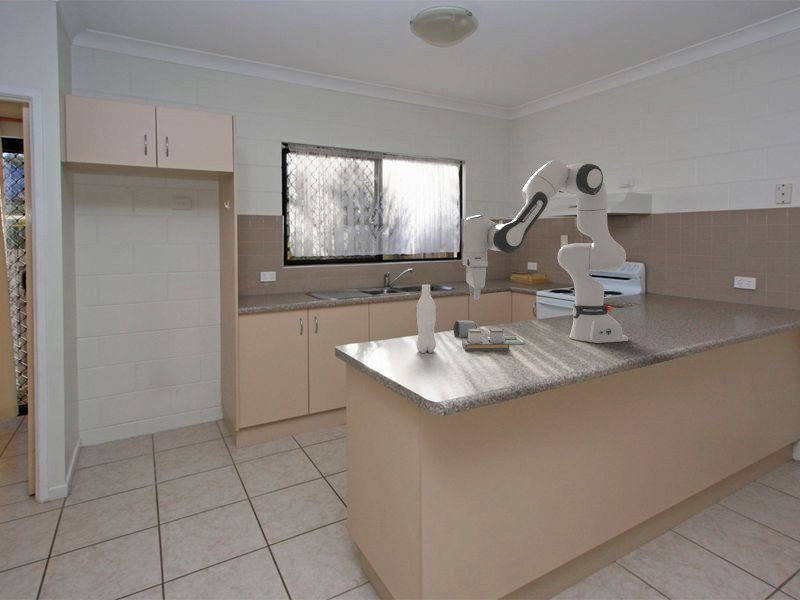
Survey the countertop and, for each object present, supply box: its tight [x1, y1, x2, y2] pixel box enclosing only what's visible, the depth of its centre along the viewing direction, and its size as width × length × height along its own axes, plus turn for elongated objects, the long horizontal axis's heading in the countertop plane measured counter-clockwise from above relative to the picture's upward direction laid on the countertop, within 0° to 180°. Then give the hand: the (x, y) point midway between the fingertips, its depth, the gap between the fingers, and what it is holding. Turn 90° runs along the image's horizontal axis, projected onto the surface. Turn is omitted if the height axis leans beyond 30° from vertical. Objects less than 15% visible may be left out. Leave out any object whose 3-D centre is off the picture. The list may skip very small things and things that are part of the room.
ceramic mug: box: [452, 320, 478, 338], centre depth 208 cm, size 11×8×8 cm
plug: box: [467, 328, 482, 343], centre depth 183 cm, size 4×4×7 cm
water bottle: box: [415, 284, 437, 354], centre depth 182 cm, size 7×7×25 cm
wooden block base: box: [461, 338, 510, 352], centre depth 183 cm, size 16×8×4 cm, turn 91°
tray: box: [487, 335, 525, 345], centre depth 195 cm, size 12×10×2 cm
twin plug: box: [489, 328, 504, 343], centre depth 183 cm, size 4×4×7 cm
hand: (474, 297), depth 181 cm, fingers open, 8 cm apart
